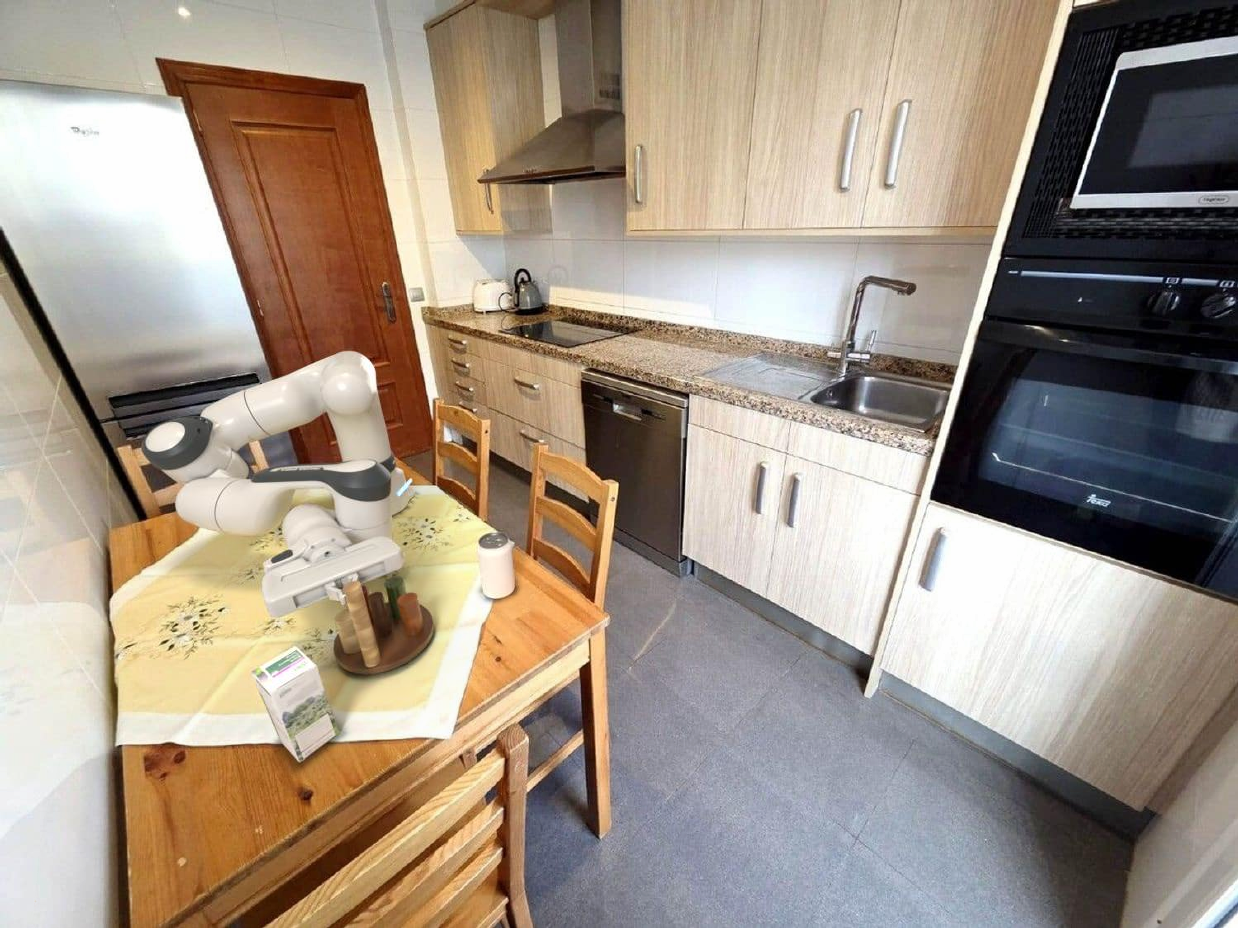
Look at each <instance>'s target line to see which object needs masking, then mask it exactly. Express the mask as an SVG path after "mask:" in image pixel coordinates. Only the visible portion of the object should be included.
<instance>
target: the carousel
mask: <svg viewBox="0 0 1238 928" xmlns="http://www.w3.org/2000/svg"><path fill="white" fill-rule="evenodd" d="M383 586H384V590H385V593H386V598H387V602H386V599H385V596H384V593H383V592H382V591H375V592H372V593H369V589H368V587H367V586H366V585H363V584H361V583H360V582H359V581H352V582H349V583H347V584H346V585H344V587H343V591H344V594H345V597H346V601H347V604H346V605H347V607H348V608H344V609H342V610H340V611H338V612H337V613H335V615H334V617H333V620H334V624H335V626H336V630H337V634H336V637H335V639H334V641H333V650H332V651H333V655H334V657H335V660H336V662H337V664H338V665H339V666H340V667H341V668H343V670H346V671H348V672H350V673H354V674H359V675H376V674H375V673H380V674H382V673H381V672H385V671H388V670H391V669H394V668H396V667H399V666H401V665H403V664H405V663H406V664H408V663H409V662H411V661H412V660H414V659H415V658H416V657H417V656H418V655H419V654H421V652H422V651H424V649H425V648H427V645H428V644H429V643H430V641H431V639H432V637H433V634H434V631H435V623H434V619H433V615H432V613H431V611H430V610H429V609H428V608H427V607H426V606H424V605H422V604H421V603H420V602H419V597H418V594H417V593H415V592H407V589H406V583H405V580H404V578H403V577H402V576H399V575H398V576H392V577H389V578H388V579H386V580H385V582H384V584H383ZM415 656H416V657H415ZM414 657H415V658H414ZM413 658H414V659H413ZM411 659H412V660H411ZM410 660H411V661H410ZM408 661H409V662H408ZM407 662H408V663H407ZM406 664H405V665H406ZM403 666H404V665H403ZM401 667H402V666H401ZM399 668H400V667H399ZM394 670H395V669H394ZM388 672H389V671H388ZM385 673H386V672H385Z"/></svg>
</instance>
